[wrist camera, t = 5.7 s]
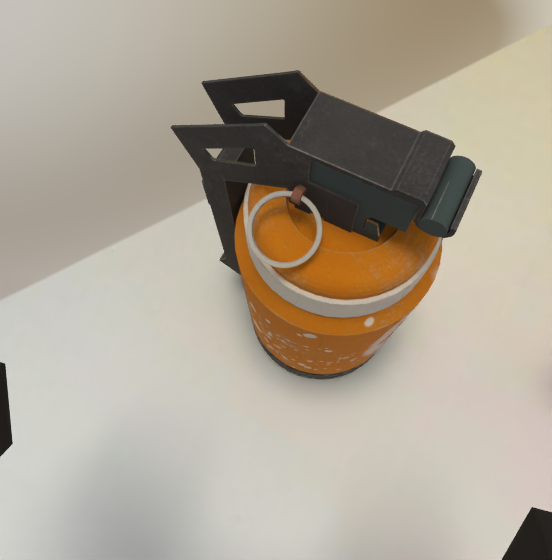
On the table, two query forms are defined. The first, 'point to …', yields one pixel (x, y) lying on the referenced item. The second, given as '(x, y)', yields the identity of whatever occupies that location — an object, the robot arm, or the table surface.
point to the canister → (326, 216)
